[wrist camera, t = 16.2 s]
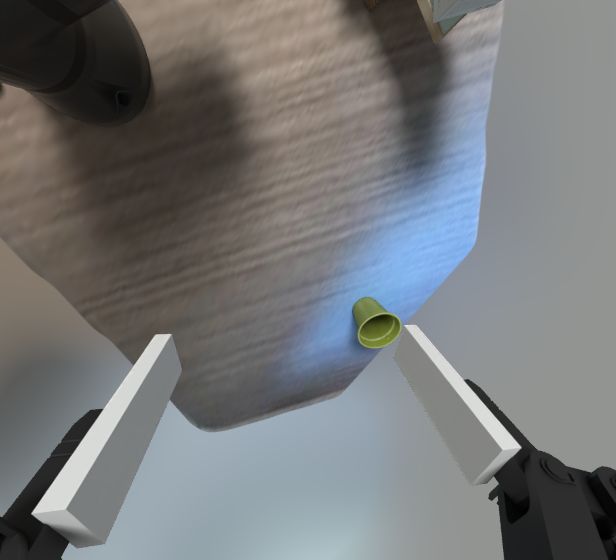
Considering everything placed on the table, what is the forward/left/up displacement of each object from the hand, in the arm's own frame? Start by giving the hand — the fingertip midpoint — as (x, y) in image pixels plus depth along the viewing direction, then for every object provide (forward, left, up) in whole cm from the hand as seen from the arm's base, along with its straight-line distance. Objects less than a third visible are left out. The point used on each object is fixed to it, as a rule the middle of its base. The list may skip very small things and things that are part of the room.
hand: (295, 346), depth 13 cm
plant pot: (+20, -20, -32) cm, 43 cm away
